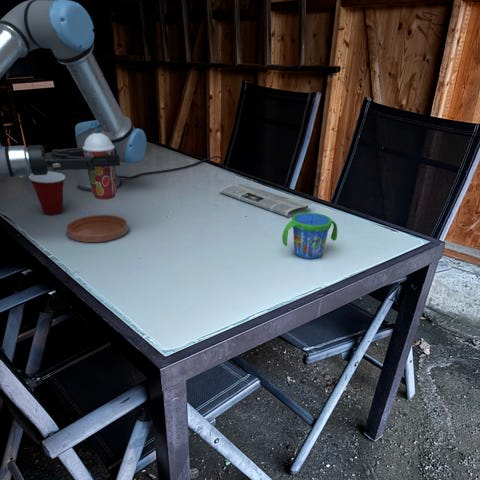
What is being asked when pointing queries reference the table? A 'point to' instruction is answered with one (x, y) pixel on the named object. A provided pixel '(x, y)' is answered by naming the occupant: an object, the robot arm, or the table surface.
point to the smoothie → (101, 176)
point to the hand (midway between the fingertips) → (117, 156)
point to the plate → (97, 228)
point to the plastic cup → (49, 191)
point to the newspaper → (266, 199)
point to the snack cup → (309, 233)
